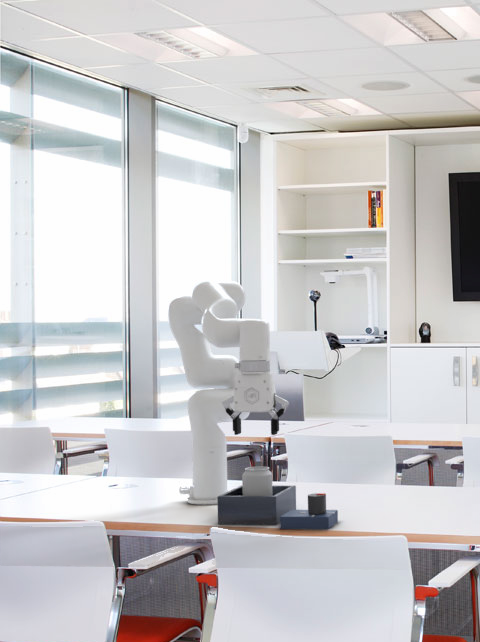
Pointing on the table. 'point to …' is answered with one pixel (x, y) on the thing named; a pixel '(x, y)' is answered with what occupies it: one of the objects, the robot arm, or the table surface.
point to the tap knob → (317, 503)
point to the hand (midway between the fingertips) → (256, 434)
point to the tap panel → (308, 520)
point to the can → (257, 481)
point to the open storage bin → (255, 506)
